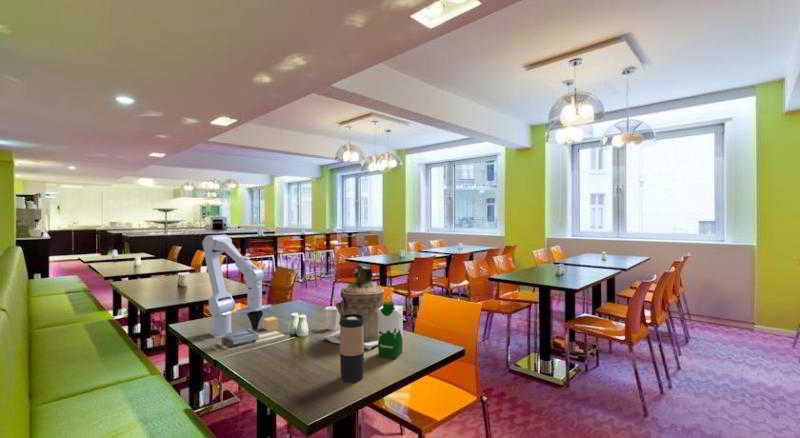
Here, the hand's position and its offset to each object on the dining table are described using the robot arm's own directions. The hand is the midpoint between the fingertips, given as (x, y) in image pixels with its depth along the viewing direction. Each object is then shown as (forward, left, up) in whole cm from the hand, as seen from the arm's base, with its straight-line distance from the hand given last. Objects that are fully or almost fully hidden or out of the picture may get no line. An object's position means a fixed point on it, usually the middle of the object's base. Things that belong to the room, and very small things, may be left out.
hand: (254, 329), depth 166 cm
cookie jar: (+29, +35, -5) cm, 45 cm away
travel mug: (+59, +8, -5) cm, 60 cm away
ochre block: (-10, +12, -5) cm, 16 cm away
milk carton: (+52, +31, -5) cm, 61 cm away
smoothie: (+9, +33, -5) cm, 34 cm away
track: (0, -1, -5) cm, 5 cm away
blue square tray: (0, -6, -4) cm, 7 cm away
